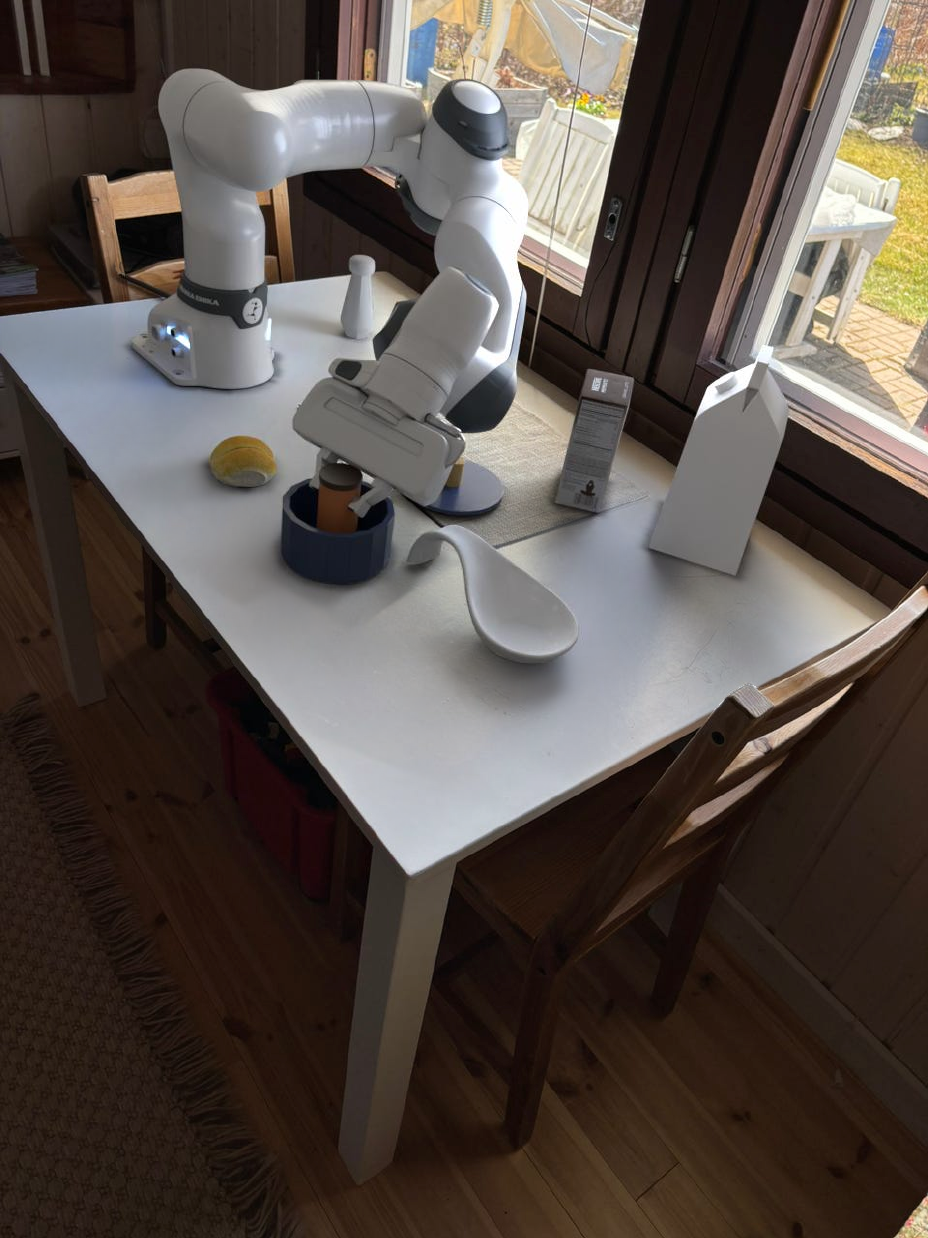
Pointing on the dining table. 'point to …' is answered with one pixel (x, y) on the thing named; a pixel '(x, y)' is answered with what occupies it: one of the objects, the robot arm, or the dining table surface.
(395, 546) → the dining table surface
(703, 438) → the milk
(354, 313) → the salt shaker
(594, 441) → the coffee box
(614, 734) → the dining table surface
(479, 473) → the tin lid
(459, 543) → the spoon rest
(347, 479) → the cylinder
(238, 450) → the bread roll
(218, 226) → the robot arm
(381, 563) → the tin
